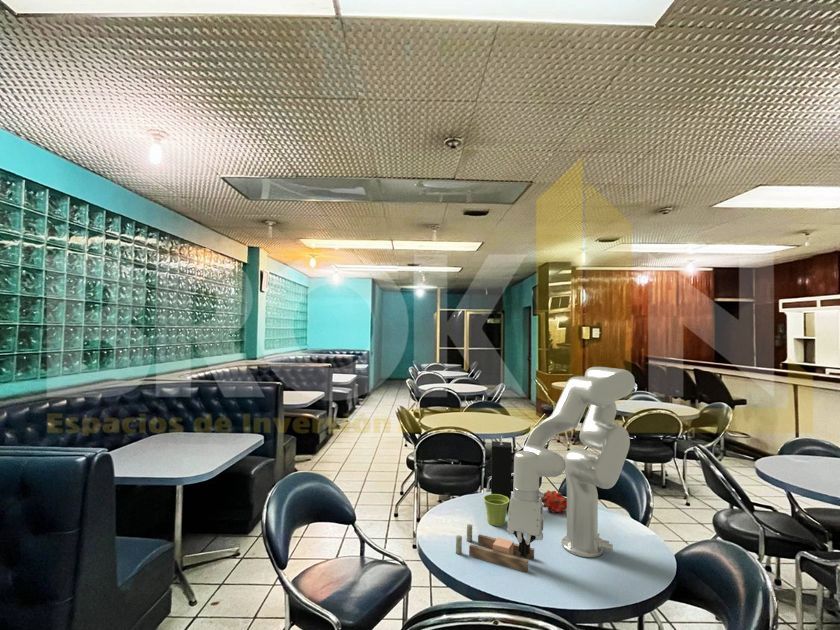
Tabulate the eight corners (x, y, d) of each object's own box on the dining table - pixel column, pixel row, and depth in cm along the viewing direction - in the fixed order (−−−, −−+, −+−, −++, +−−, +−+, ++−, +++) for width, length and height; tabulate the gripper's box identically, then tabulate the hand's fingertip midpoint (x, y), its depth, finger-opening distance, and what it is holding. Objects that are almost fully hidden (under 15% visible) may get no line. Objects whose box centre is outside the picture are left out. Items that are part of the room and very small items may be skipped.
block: (513, 556, 132) (513, 541, 132) (508, 563, 128) (508, 548, 128) (497, 551, 134) (498, 537, 135) (492, 559, 130) (492, 544, 130)
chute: (534, 556, 132) (535, 540, 132) (526, 574, 122) (526, 556, 122) (467, 538, 142) (468, 523, 143) (454, 553, 133) (455, 537, 133)
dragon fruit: (537, 512, 168) (568, 520, 166) (541, 507, 161) (573, 514, 159) (538, 491, 173) (569, 497, 171) (542, 484, 166) (574, 491, 164)
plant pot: (493, 530, 149) (494, 505, 149) (478, 520, 157) (478, 496, 157) (514, 525, 153) (514, 501, 153) (498, 515, 161) (498, 492, 162)
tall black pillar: (490, 509, 166) (491, 437, 167) (490, 501, 174) (491, 433, 175) (511, 511, 165) (512, 438, 166) (510, 503, 173) (511, 434, 174)
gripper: (553, 494, 128) (552, 556, 127) (505, 484, 135) (504, 543, 134) (548, 503, 122) (547, 568, 121) (498, 492, 129) (496, 553, 128)
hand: (524, 555), depth 128 cm, fingers closed
